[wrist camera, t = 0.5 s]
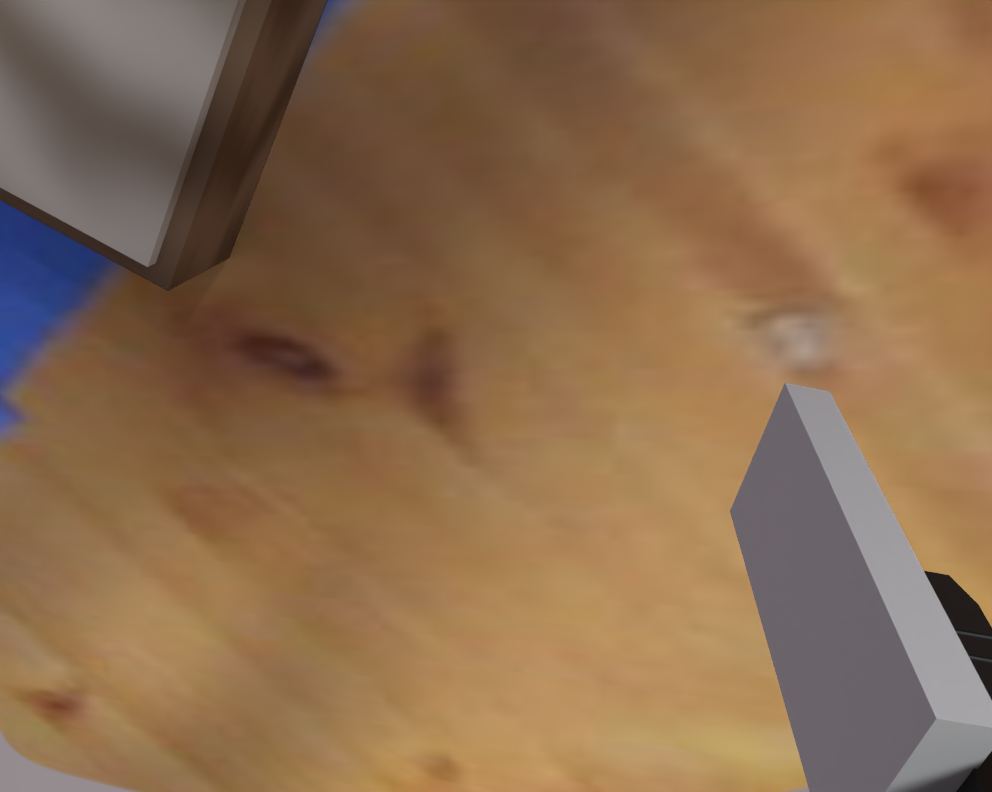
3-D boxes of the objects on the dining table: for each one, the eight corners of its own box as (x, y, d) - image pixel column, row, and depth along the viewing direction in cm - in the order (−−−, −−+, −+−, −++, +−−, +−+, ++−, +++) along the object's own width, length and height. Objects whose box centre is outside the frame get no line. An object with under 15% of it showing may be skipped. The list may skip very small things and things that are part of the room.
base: (52, -163, 35) (-62, -198, 29) (330, -8, 35) (268, -14, 30) (-16, 125, 40) (-124, 141, 34) (228, 257, 40) (160, 295, 34)
